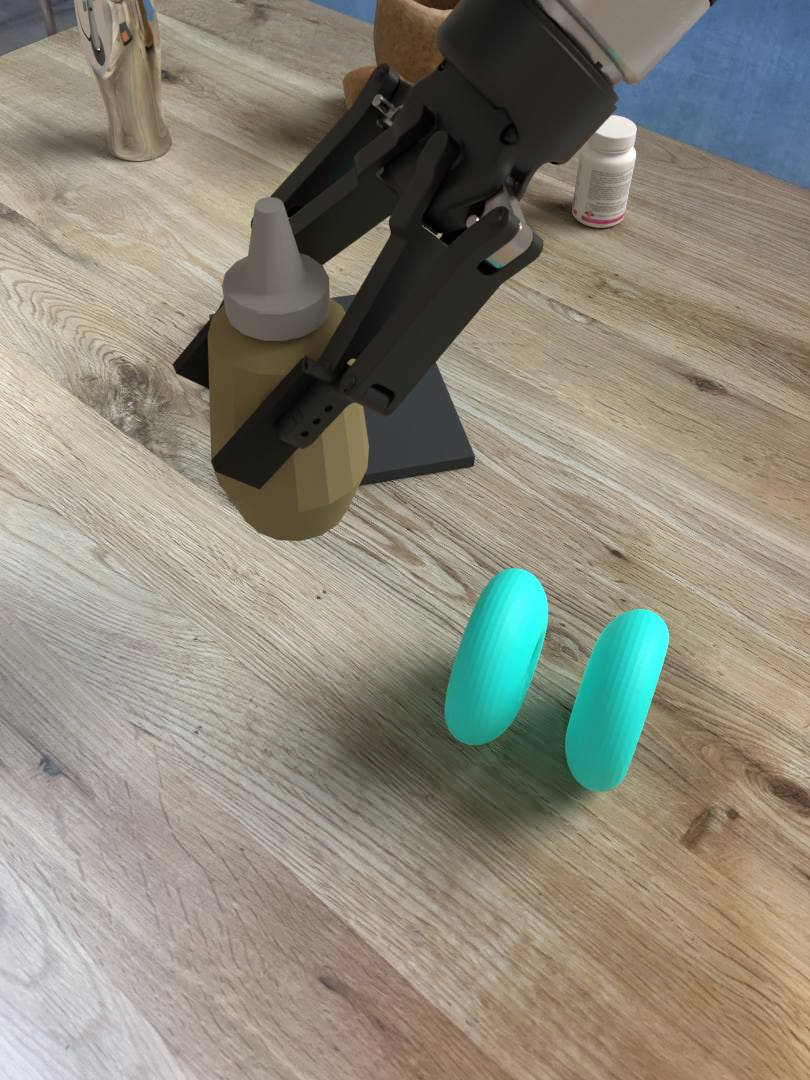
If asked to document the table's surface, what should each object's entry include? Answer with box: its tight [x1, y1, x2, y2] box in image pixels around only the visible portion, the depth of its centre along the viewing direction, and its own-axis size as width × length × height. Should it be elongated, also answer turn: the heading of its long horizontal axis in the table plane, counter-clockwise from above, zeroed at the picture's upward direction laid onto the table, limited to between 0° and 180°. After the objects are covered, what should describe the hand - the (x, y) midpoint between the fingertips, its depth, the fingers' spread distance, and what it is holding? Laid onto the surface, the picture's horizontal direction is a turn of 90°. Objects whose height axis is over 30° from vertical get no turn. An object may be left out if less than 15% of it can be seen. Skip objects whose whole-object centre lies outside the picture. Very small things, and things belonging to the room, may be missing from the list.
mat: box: [208, 293, 476, 486], centre depth 79 cm, size 20×16×1 cm
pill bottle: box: [571, 114, 637, 229], centre depth 92 cm, size 5×5×8 cm
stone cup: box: [342, 0, 460, 124], centre depth 98 cm, size 15×12×15 cm
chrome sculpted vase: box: [73, 0, 173, 162], centre depth 96 cm, size 7×7×15 cm
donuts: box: [444, 567, 670, 793], centre depth 57 cm, size 10×10×10 cm
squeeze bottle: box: [208, 196, 369, 542], centre depth 50 cm, size 8×8×18 cm
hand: (215, 424), depth 50 cm, fingers closed on squeeze bottle, 6 cm apart
